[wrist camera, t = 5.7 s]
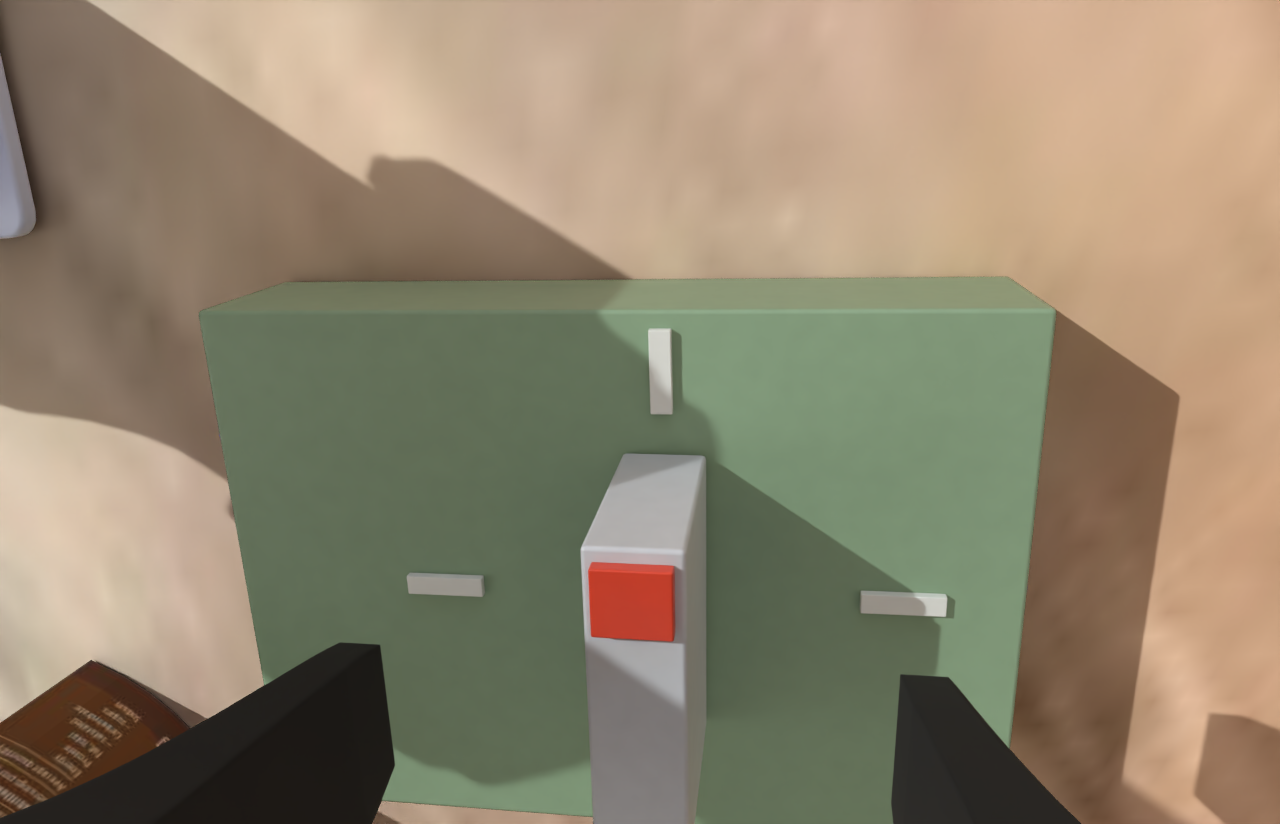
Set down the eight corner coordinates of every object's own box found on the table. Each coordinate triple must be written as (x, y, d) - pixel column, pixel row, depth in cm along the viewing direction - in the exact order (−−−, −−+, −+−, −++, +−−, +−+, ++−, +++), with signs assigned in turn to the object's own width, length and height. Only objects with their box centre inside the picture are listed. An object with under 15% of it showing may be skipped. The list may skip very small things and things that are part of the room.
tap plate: (346, 706, 22) (277, 800, 19) (284, 281, 19) (190, 312, 16) (968, 745, 20) (1002, 857, 17) (1010, 275, 17) (1061, 311, 14)
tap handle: (707, 722, 17) (687, 889, 13) (630, 717, 17) (590, 880, 13) (706, 453, 15) (684, 559, 12) (622, 452, 15) (575, 555, 12)
